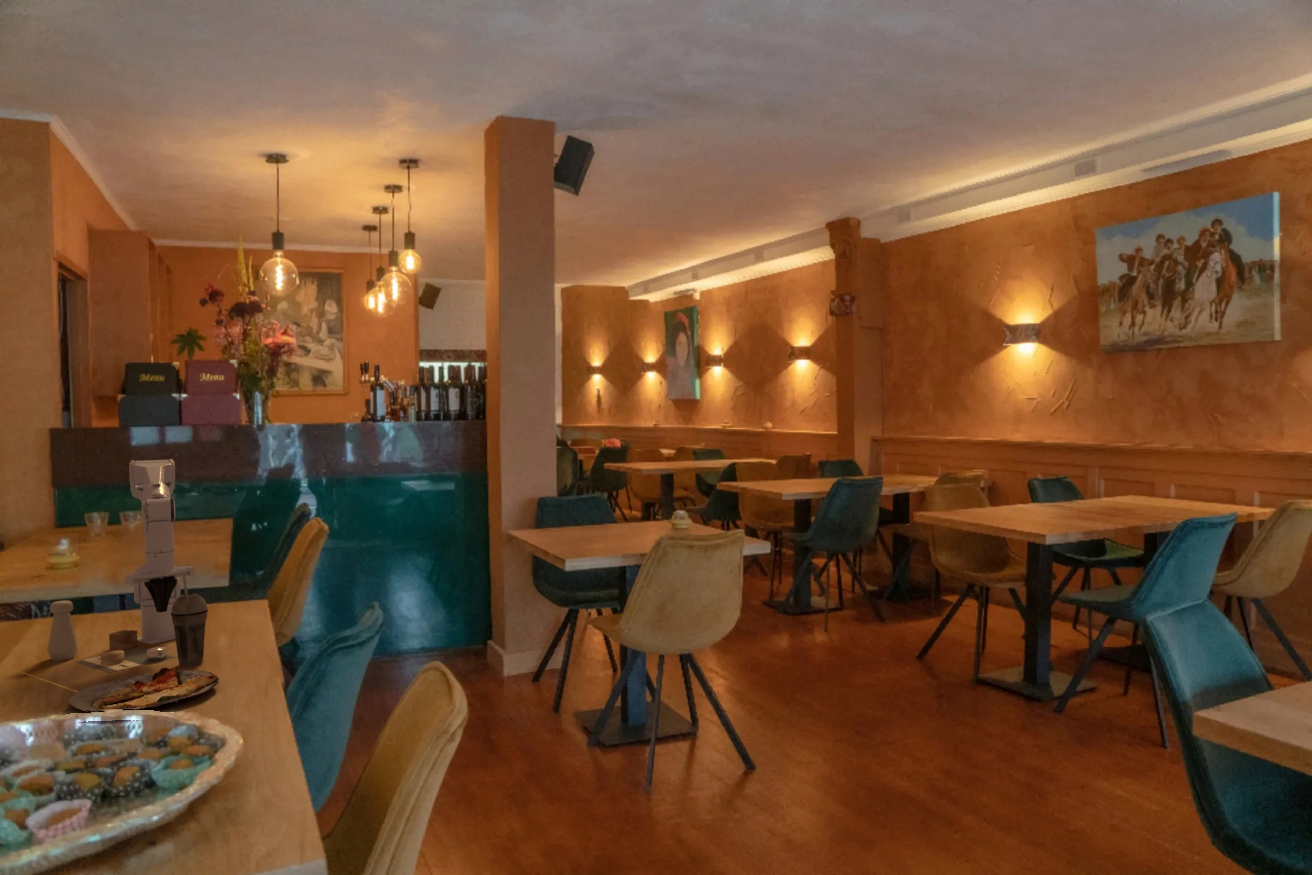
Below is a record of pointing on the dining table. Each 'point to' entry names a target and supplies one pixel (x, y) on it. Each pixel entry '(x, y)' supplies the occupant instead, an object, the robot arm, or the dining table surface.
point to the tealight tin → (156, 654)
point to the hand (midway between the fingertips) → (161, 611)
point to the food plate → (146, 689)
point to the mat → (130, 660)
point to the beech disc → (112, 657)
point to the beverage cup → (189, 627)
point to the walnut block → (123, 640)
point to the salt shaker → (62, 632)
